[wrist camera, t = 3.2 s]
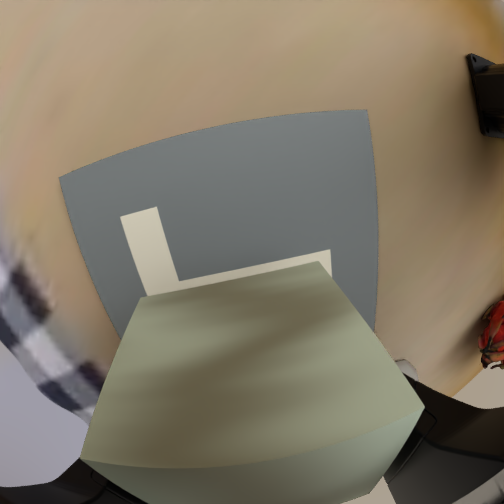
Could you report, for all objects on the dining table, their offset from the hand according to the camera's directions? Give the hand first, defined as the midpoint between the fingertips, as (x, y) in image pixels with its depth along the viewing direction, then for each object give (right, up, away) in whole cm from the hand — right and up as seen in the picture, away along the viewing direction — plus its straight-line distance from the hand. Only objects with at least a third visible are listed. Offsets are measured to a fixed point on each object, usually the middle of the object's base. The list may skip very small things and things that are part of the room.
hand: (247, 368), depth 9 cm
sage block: (0, 0, +1) cm, 1 cm away
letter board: (-1, +2, +6) cm, 6 cm away
